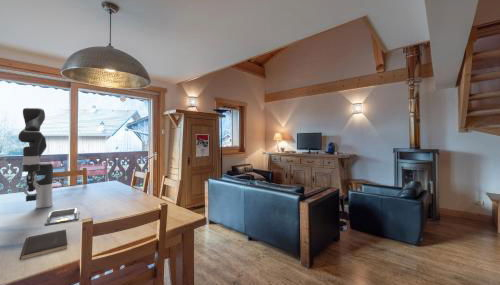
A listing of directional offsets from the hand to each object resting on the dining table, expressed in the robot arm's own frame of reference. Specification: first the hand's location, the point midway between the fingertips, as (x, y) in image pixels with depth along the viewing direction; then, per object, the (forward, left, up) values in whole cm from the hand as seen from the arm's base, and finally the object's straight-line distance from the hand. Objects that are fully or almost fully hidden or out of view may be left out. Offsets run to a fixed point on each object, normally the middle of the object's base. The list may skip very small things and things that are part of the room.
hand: (31, 190), depth 138 cm
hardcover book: (+43, +11, -21) cm, 49 cm away
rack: (+2, +15, -20) cm, 25 cm away
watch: (0, 0, -6) cm, 6 cm away
